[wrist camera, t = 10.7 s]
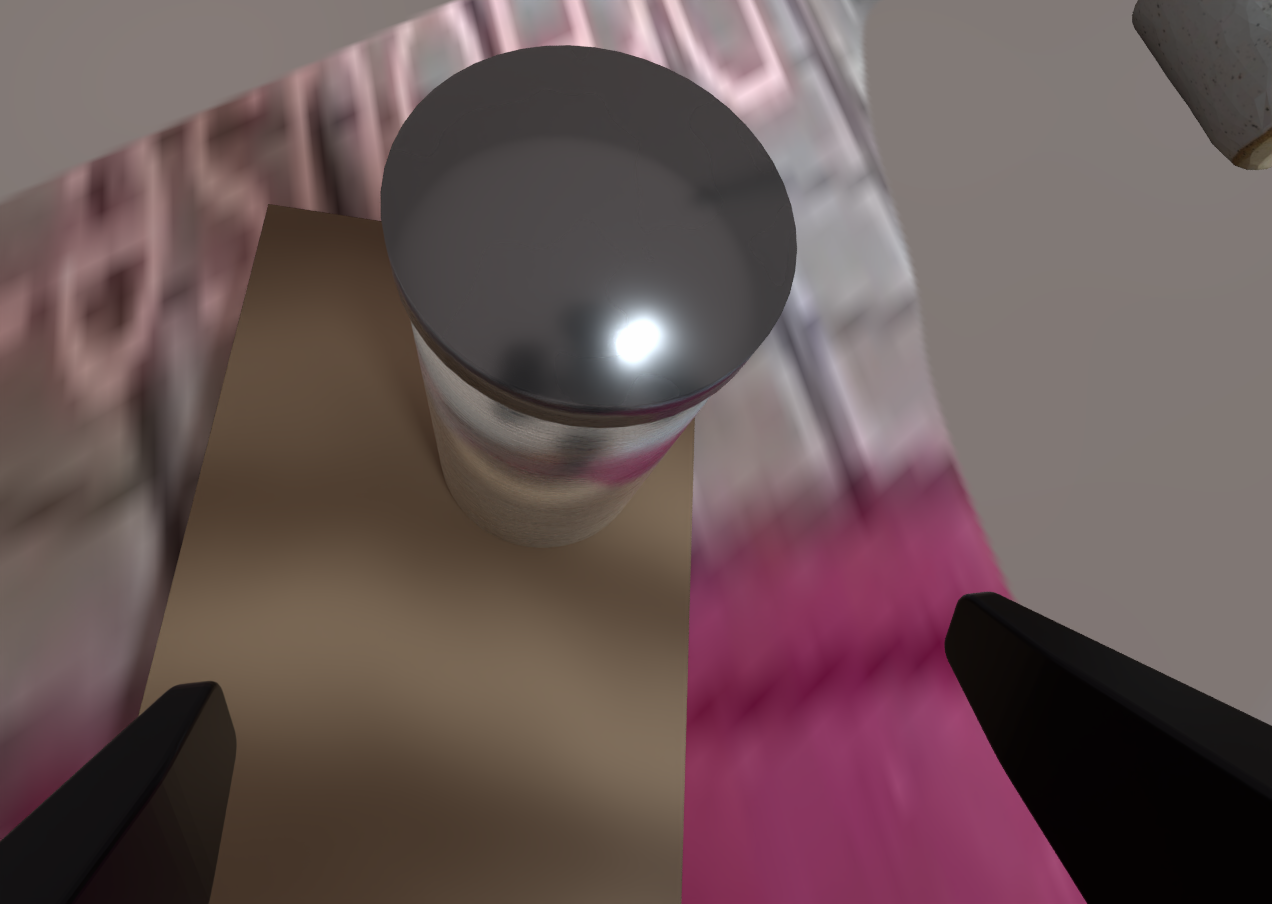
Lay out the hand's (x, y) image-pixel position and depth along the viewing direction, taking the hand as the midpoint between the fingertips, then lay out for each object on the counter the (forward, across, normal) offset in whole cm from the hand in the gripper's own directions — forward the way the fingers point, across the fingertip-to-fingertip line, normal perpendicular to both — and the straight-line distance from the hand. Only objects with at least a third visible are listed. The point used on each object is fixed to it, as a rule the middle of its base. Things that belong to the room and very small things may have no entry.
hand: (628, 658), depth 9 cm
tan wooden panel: (+9, +2, +5) cm, 11 cm away
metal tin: (+10, 0, +2) cm, 11 cm away
